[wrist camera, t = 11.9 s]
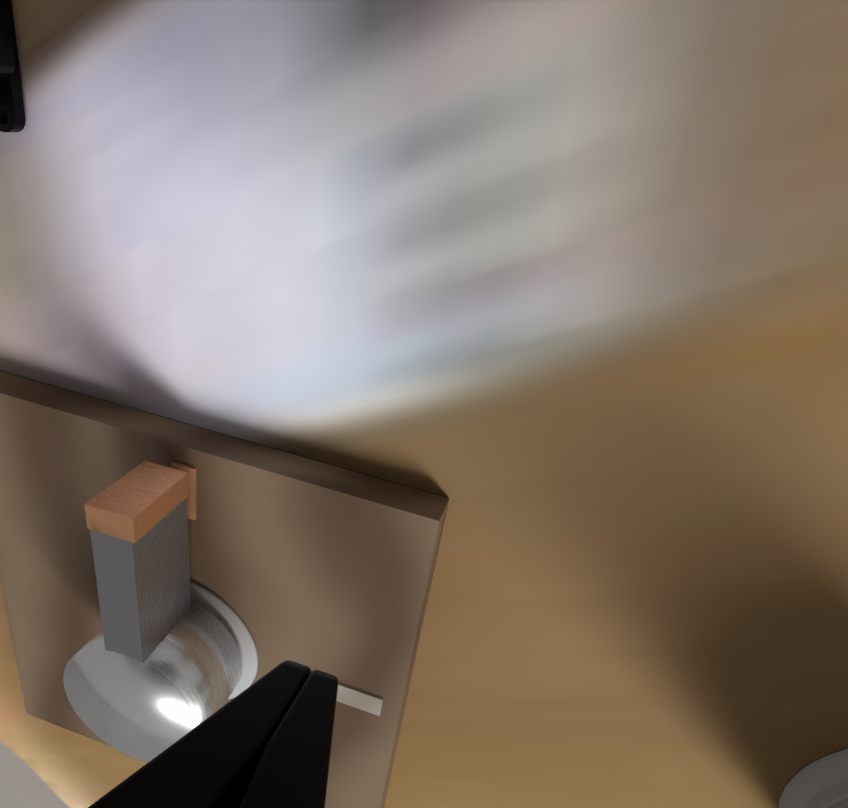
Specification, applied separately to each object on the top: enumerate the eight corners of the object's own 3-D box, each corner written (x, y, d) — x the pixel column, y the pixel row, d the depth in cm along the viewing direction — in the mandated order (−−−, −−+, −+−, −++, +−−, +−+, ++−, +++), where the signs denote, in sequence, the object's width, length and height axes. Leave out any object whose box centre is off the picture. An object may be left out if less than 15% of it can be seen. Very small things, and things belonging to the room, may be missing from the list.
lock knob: (242, 714, 28) (199, 782, 25) (126, 673, 29) (72, 734, 26) (244, 483, 22) (190, 536, 19) (101, 443, 23) (30, 487, 20)
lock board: (48, 691, 35) (23, 716, 33) (-5, 369, 26) (-42, 383, 24) (381, 818, 31) (370, 852, 30) (448, 498, 23) (438, 524, 21)
